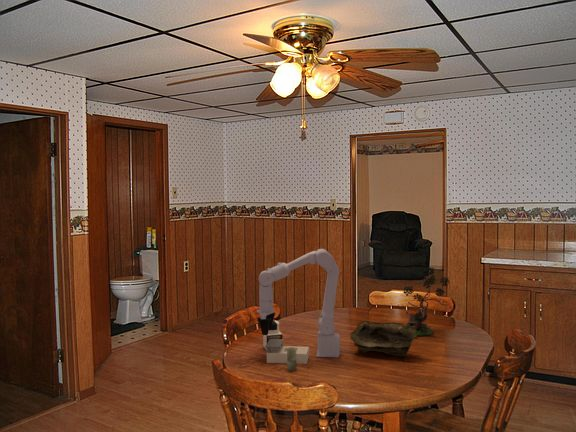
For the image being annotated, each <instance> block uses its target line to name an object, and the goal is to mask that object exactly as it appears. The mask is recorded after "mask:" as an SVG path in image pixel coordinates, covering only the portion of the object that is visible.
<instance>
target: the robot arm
mask: <svg viewBox="0 0 576 432" xmlns="http://www.w3.org/2000/svg"><path fill="white" fill-rule="evenodd" d="M316 263H317V264H318V265H319V266H320V267H322V269H324V270H325V271H326V281H325V287H324V288H325V289H324V296H323V301H322V307H321V308H322V310H321V312H320V316H319V318H318V319H317V325H318V327H319V329H318V331H317V352H316V355H315V356H316V357H317V358H318V357H319V358H340V354H341V337H340V336H341V335H340V333H336V332H335V330H336V329H335V328H336V327H335V322H334V317H335V314H334V311H335V302H336V298H337V297H336V296H337V290H338V282H339V274H340V269H339V266H338V265H337V262H336V260H335V259H334V256H333V255H332V254H331V253H330V252H328V250H327V249H324V248H318V249H317V250H313V251H311V252H307V253H306V254H304V255H302V256H299V257H298V258H296V259H294V260H292V261H290V262H288V263H285V262H278V263H277V265H274V266H273V267H271V268H270V267H268V268H267V269H266V270H263V271H261V272H260V274H259V275H258V283H259V285H258V287H259V289H258V294H259V295H258V299H259V301H258V303H259V305H258V306H259V309H257V310H256V313H257V314H258V313H259V315H260V316H259V317H257V319H256V320H257V323H258V324H259V326H260V330H261V334H262V336H263V335H268V331H269V330H271V329H272V323H273V320H274V319H275V315H276V312H275V310H274V289H273V282H277V281H279V280H281V279H284V278H285V277H287V276H289V275H290V273H291V271H293V270H296V269H298V268H300V267H302V266H305V265H307V264H311V265H316Z"/></svg>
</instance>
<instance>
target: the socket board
mask: <svg viewBox="0 0 576 432" xmlns="http://www.w3.org/2000/svg"><path fill="white" fill-rule="evenodd" d="M284 341H285V339H284V338H282V339H270V340H269V341H268V343H267V344H266V346H265V348H268V351H266V363H267V364H286V365H287V348H290V347H294V348H296V365H308V362H309V358H310V346H291V345H289V346H288V345H283V346H281V345H282V344H283V343H284ZM265 348H264V349H265Z"/></svg>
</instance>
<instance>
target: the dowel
mask: <svg viewBox="0 0 576 432" xmlns="http://www.w3.org/2000/svg"><path fill="white" fill-rule="evenodd" d="M286 366H287V367H286V370H287V371H290V372H294V371H297V364H296V348H294V347H290V348H287V364H286Z"/></svg>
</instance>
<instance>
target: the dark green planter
mask: <svg viewBox="0 0 576 432" xmlns="http://www.w3.org/2000/svg"><path fill="white" fill-rule="evenodd" d="M405 325H406V324H405ZM405 325H404V324H403V323H400V322H385V323H384V322H383V323H382V322H377V321H376V322H375V321H374V322H370V321H368V320H365V321H361V322H359V323H358V324H357V326H356V328H355V330H354V331H352V332H351V333H350V340H352V342H353V345H354V346H355V347H356V348H357V349H358V350H360V352H361V353H362V354H366V353H367V352H378V353H379V352H381V353H384V354H385V355H388V356H390V355H392V356H396V357H401V358H406V357H407V355H408V352H409V350H410V349H411V346H412V343H413V341H414V340H418V336H417V330H415V329H414V328H412V327H407V326H405Z"/></svg>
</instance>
